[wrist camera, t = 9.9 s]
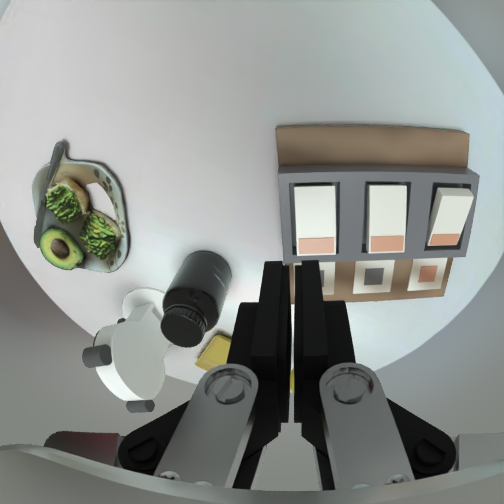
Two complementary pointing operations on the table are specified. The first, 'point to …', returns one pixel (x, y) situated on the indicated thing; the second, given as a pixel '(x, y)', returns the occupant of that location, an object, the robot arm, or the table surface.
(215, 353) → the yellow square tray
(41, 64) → the table surface
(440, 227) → the rocker
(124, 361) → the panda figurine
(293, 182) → the switch housing
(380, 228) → the rocker
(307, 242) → the rocker
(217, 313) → the supplement bottle
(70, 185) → the salad plate
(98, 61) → the table surface
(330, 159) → the board
